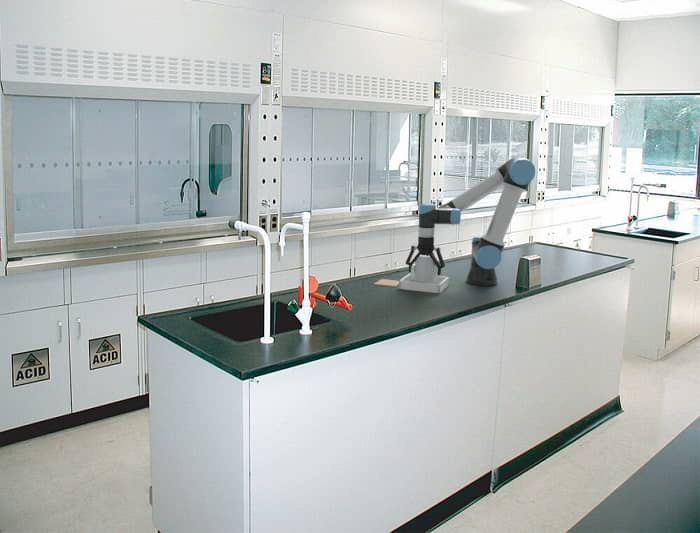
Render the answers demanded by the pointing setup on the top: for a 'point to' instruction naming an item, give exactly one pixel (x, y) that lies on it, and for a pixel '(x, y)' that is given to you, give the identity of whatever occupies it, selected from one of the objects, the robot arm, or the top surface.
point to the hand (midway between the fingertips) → (424, 280)
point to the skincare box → (424, 270)
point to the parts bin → (424, 284)
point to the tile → (387, 283)
